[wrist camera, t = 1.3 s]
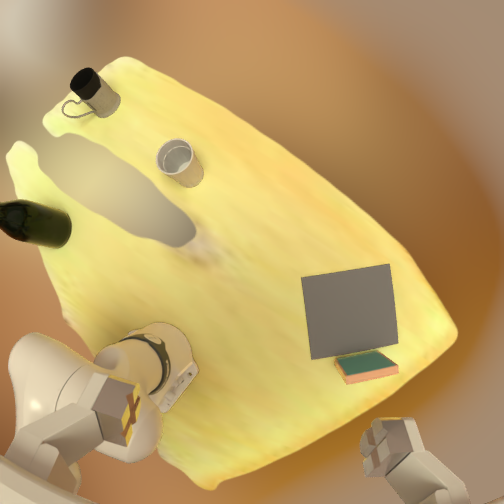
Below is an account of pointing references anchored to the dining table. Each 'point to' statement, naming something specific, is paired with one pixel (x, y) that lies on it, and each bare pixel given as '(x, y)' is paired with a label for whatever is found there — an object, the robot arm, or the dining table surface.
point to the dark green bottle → (34, 223)
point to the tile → (365, 367)
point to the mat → (350, 311)
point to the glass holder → (93, 94)
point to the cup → (180, 162)
